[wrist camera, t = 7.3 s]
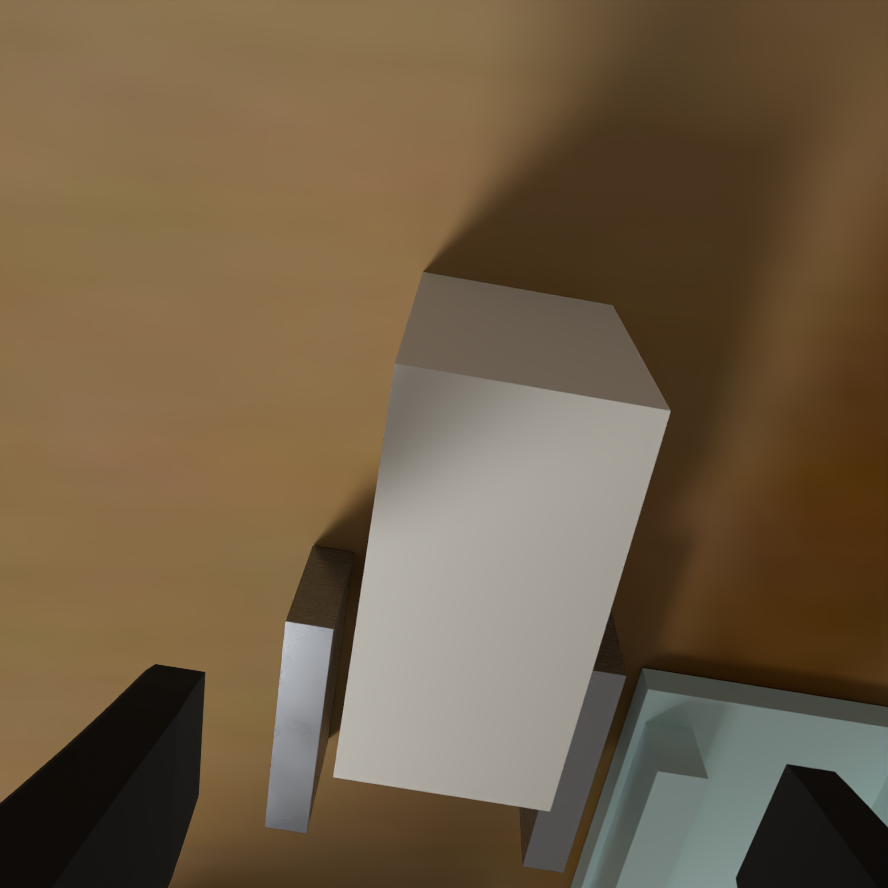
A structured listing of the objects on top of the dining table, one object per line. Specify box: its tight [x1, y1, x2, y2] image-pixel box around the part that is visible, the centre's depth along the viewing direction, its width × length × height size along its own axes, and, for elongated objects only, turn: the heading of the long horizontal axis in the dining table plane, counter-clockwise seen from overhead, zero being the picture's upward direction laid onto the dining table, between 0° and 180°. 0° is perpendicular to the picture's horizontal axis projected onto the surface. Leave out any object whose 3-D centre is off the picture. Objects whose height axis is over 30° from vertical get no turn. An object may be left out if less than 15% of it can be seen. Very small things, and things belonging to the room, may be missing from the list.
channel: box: [265, 546, 626, 873], centre depth 20 cm, size 6×7×3 cm
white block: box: [333, 272, 671, 811], centre depth 16 cm, size 8×4×6 cm, turn 171°
